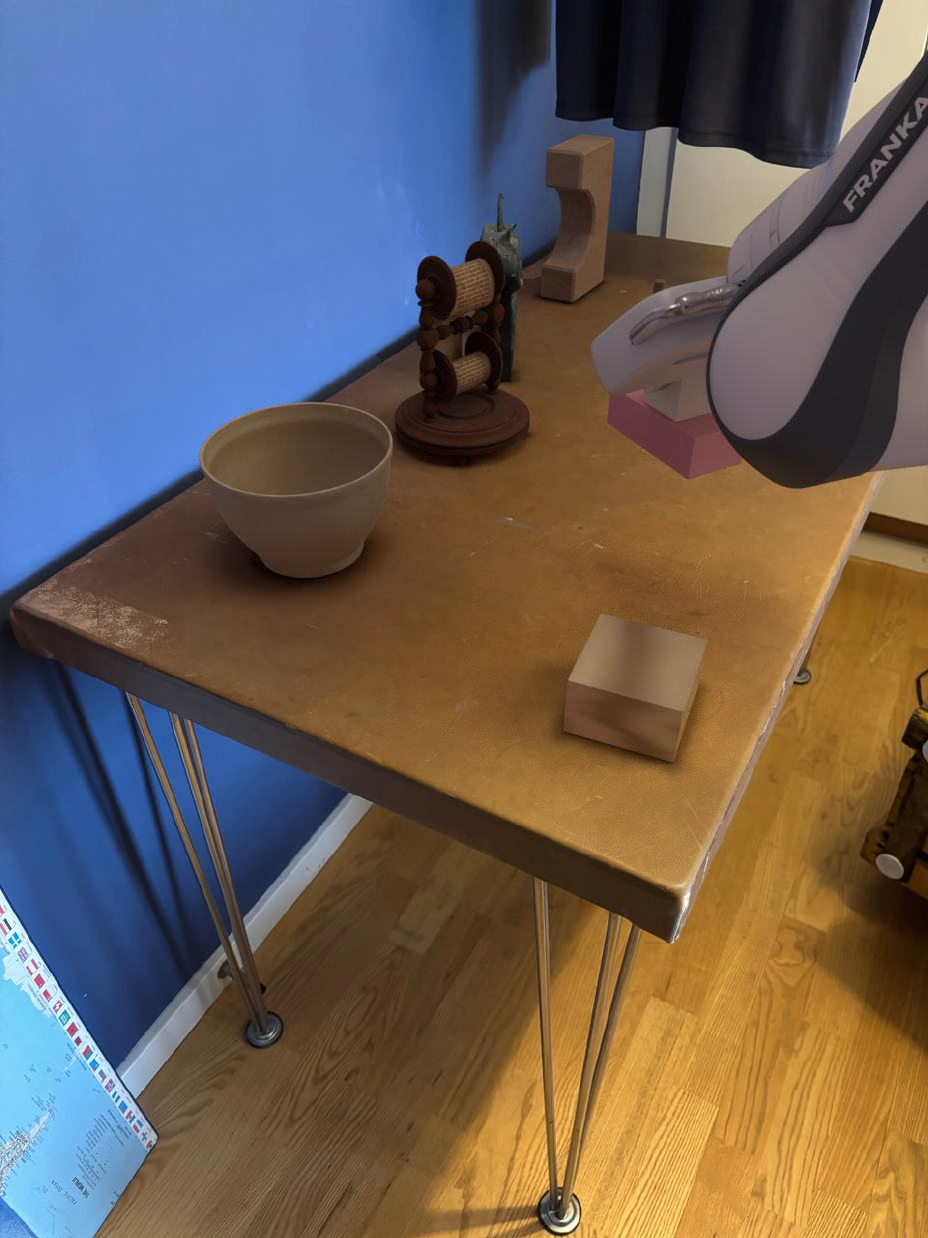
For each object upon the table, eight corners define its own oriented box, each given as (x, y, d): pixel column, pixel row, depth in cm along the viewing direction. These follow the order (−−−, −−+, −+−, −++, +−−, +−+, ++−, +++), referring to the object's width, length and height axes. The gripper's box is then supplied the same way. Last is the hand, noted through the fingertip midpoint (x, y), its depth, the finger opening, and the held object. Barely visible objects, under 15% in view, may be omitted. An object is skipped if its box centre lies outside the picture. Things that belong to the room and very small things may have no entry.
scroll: (463, 394, 109) (461, 218, 97) (556, 434, 101) (567, 247, 88) (368, 435, 101) (353, 249, 89) (461, 483, 93) (458, 285, 80)
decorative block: (572, 304, 132) (582, 152, 120) (537, 297, 134) (544, 148, 122) (604, 282, 139) (617, 137, 127) (571, 276, 142) (580, 132, 129)
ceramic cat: (520, 387, 110) (526, 212, 98) (467, 387, 111) (466, 212, 98) (516, 325, 126) (521, 168, 113) (469, 325, 126) (469, 168, 113)
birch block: (697, 689, 69) (707, 639, 66) (673, 763, 63) (683, 711, 60) (595, 662, 71) (600, 612, 68) (562, 731, 65) (567, 680, 62)
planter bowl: (187, 553, 83) (161, 446, 77) (324, 486, 92) (311, 386, 86) (295, 629, 75) (277, 516, 68) (435, 548, 84) (431, 441, 77)
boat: (741, 463, 65) (770, 312, 59) (687, 480, 64) (711, 326, 57) (642, 400, 74) (657, 261, 67) (592, 413, 72) (603, 272, 65)
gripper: (682, 361, 48) (571, 449, 61) (953, 293, 55) (803, 385, 68) (640, 251, 48) (539, 362, 61) (916, 197, 56) (773, 307, 68)
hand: (680, 373), depth 65 cm, fingers closed on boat, 4 cm apart
